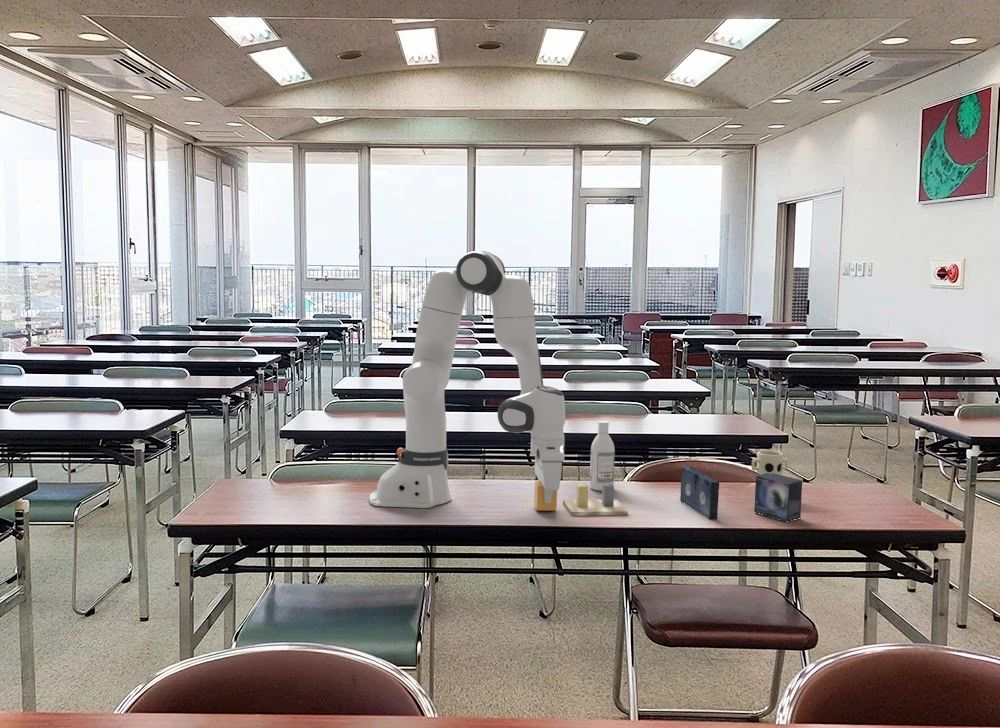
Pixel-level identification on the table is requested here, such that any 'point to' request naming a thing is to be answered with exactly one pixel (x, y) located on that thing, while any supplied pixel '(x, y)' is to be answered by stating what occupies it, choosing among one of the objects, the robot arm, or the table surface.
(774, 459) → the character mug
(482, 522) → the table surface
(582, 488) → the brass post
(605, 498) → the steel post
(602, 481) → the bath foam
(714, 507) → the vhs cassette tape
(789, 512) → the small box
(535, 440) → the robot arm
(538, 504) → the tall orange prism
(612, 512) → the birch board
